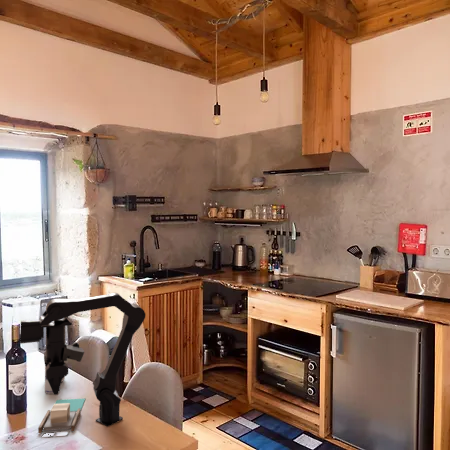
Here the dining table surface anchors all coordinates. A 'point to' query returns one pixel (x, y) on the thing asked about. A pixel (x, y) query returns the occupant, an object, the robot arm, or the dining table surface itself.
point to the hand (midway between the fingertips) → (55, 389)
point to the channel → (48, 417)
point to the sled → (60, 417)
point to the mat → (72, 403)
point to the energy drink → (48, 385)
